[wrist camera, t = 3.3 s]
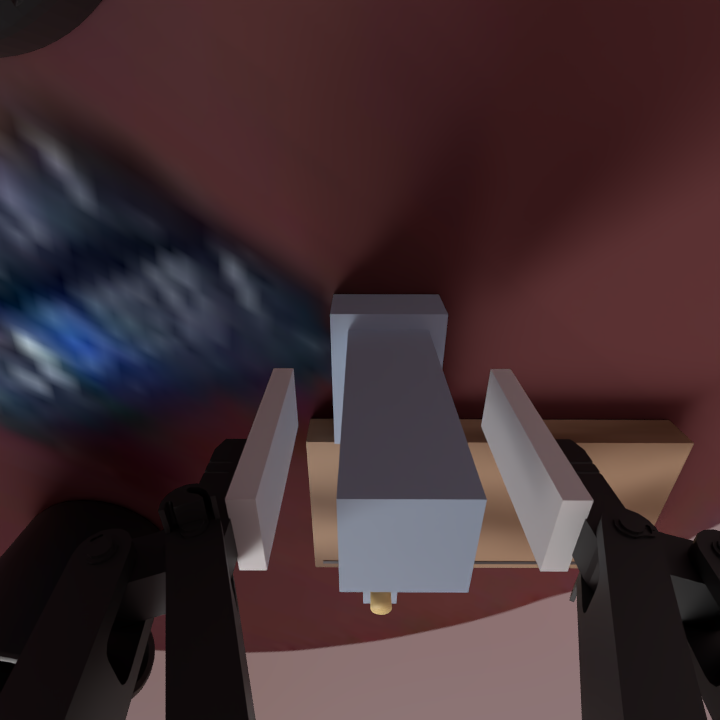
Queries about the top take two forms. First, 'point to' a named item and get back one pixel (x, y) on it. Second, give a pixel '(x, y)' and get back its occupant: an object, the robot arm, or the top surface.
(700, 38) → the top surface
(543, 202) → the top surface
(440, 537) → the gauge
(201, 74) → the top surface
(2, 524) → the top surface
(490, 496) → the board
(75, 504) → the mug
